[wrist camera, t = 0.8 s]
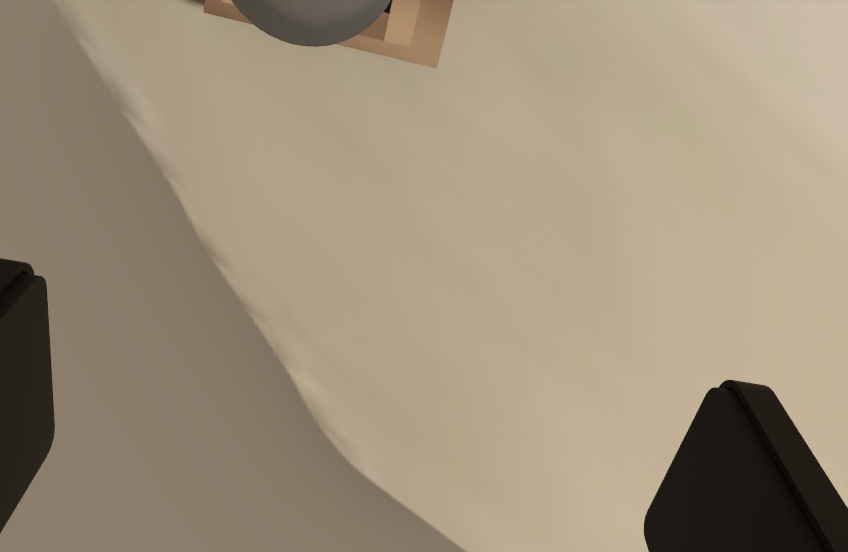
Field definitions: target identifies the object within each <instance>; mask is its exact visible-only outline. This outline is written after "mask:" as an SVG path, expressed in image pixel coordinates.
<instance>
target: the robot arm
mask: <svg viewBox="0 0 848 552" xmlns="http://www.w3.org/2000/svg"><path fill="white" fill-rule="evenodd" d="M48 320H49V319H48V301H47V286H46V281H45V279H44V278H43V277H42V276H36V275H34V271H33V269H32V267H31V265H30V264H28V263H25V262H19V261H13V260H7V259H1V258H0V533H1V531H2V529H3V528H4V526H5V524H6V523H7V521H8V520H9V518H10V516H11V515H12V513H13V511H14V510H15V508H16V506H17V504H18V503H19V501H20V500H21V498H22V496H23V495H24V493H25V491H26V490H27V488H28V486H29V485H30V483H31V481H32V480H33V478H34V476H35V475H36V473H37V472H38V470H39V468H40V467H41V465H42V463H43V462H44V460H45V458H46V457H47V454H48V453H49V450H50V448H51V445H52V442H53V438H54V428H55V424H54V407H53V391H52V390H53V389H52V373H51V372H52V371H51V354H50V336H49V321H48ZM644 536H645V540H646V544H647V547H648V550H649V552H848V508H847V506H846V505H845V503H844V502H843V500H842V499H841V497H840V495H839V494H838V492H837V491H836V489H835V488H834V486H833V484H832V483H831V481H830V480H829V478H828V477H827V475H826V474H825V472H824V470H823V469H822V467H821V466H820V464H819V463H818V461H817V459H816V458H815V456H814V455H813V453H812V452H811V450H810V448H809V447H808V445H807V444H806V442H805V441H804V439H803V437H802V436H801V434H800V433H799V431H798V430H797V428H796V426H795V425H794V423H793V422H792V420H791V419H790V417H789V415H788V414H787V412H786V411H785V409H784V408H783V406H782V404H781V403H780V401H779V400H778V398H777V397H776V395H775V394H774V392H773V391H772V390H771V389H770V388H769V387H767V386H764V385H759V384H753V383H746V382H740V381H734V380H727V381H724V382H723V383H722V384H721V385H720V386H719V388H716V387H715V388H711V389H710V390H709V391H708V392H707V394H706V396H705V398H704V400H703V402H702V404H701V406H700V408H699V410H698V412H697V414H696V416H695V418H694V420H693V422H692V424H691V426H690V428H689V430H688V432H687V434H686V435H685V437H684V439H683V441H682V443H681V445H680V447H679V449H678V451H677V453H676V455H675V457H674V459H673V461H672V463H671V465H670V467H669V469H668V471H667V473H666V475H665V477H664V479H663V481H662V483H661V485H660V487H659V489H658V491H657V493H656V495H655V497H654V499H653V501H652V503H651V505H650V507H649V509H648V511H647V514H646V516H645V521H644Z"/></svg>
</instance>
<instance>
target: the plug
mask: <svg viewBox="0 0 848 552" xmlns="http://www.w3.org/2000/svg"><path fill="white" fill-rule="evenodd" d="M231 1H232V2H233V4H234V5H235V6H236V7H237V9H238V10H239V11H240V12H241V13H242V14H243V15H244V16H245V17H246V18H247V19H248V20H249V21H250V22H251V23H253V24H254V25H255V26H256V27H258V28H259V29H260V30H262V31H264V32H265V33H267V34H269V35H270V36H273V37H275V38H277V39H279V40H281V41H285V42H288V43H291V44H295V45H301V46H315V47H318V46H328V45H332V44H337V43H341V42H343V41H346V40H348V39H351V38H353V37H354V36H356V35H358V34H360V33H361V32H363V31H364V30H365V29H367V28H368V27H369V26H371V25H372V24H373V23H374V22H375V21H376V20H377V19H378V18H379V17H380V15H381V14H382V13H383V11H384V10H385V9H386V8H387V6H388V4H389V2H390V1H391V0H231Z"/></svg>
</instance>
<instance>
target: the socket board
mask: <svg viewBox="0 0 848 552" xmlns="http://www.w3.org/2000/svg"><path fill="white" fill-rule="evenodd" d="M452 4H453V0H391V1H390V2H389V4H388V6H387V8H386V9H385V10H384V11H383V13H382V14H381V15H380V17H379V18H378V19H377V20H376V21H375V22H374V23H373V24H372V25H371V26H369V27H368V28H367V29H365V30H364V31H363V32H361V33H360V34H358V35H356V36H354V37H353V38H351V39H348V40H346V41H343V42H341V43H337V44H338V45H342V46H346V47H350V48H354V49H358V50H363V51H367V52H371V53H375V54H379V55H384V56H388V57H392V58H396V59H400V60H404V61H409V62H413V63H417V64H421V65H425V66H429V67H434V68H437V65H438V61H439V57H440V53H441V49H442V45H443V41H444V37H445V33H446V29H447V25H448V21H449V17H450V12H451V8H452ZM204 13H208V14H212V15H216V16H221V17H225V18H229V19H233V20H237V21H241V22H246V23H250V24H253V23H251V22H250V21H249V20H248V19H247V18H246V17H245V16H244V15H243V14H242V13H241V12H240V11H239V10H238V9H237V7H236V6H235V5H234V4H233V2H232V1H231V0H205V3H204Z"/></svg>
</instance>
